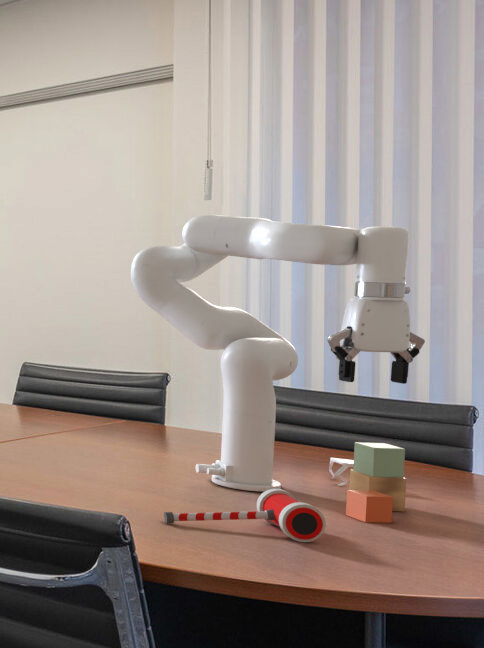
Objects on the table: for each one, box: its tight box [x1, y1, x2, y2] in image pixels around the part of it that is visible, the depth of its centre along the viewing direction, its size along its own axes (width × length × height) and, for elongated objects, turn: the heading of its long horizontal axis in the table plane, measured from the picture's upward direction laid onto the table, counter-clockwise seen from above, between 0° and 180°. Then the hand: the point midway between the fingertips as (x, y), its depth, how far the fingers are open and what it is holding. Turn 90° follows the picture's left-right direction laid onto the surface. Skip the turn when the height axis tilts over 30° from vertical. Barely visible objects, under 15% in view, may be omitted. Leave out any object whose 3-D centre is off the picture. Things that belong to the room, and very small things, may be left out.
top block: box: [345, 489, 393, 524], centre depth 156 cm, size 5×5×5 cm
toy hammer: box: [163, 488, 327, 543], centre depth 148 cm, size 23×12×6 cm, turn 77°
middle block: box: [352, 441, 406, 478], centre depth 164 cm, size 6×6×6 cm
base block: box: [348, 469, 407, 512], centre depth 165 cm, size 6×6×6 cm
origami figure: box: [328, 457, 354, 487], centre depth 181 cm, size 12×8×5 cm
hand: (372, 381), depth 161 cm, fingers open, 9 cm apart
